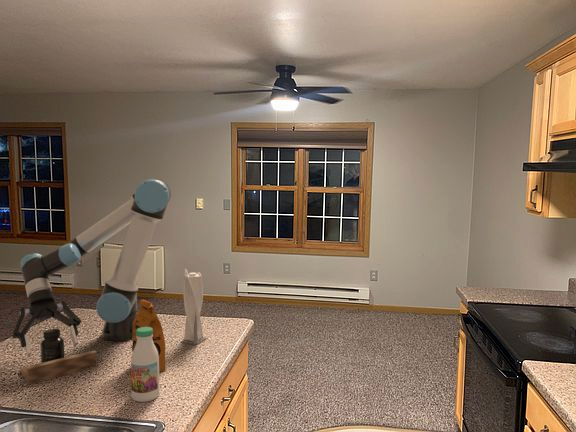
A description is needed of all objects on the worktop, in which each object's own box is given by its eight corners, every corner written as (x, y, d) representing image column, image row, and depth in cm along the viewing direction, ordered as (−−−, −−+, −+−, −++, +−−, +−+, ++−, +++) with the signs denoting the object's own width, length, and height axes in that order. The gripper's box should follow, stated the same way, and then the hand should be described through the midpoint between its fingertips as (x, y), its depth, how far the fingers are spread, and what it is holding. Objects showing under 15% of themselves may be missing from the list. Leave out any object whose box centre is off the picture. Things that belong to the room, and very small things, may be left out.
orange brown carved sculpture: (138, 378, 140) (136, 309, 138) (130, 363, 150) (129, 300, 148) (169, 371, 145) (168, 305, 143) (159, 357, 155) (159, 296, 153)
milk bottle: (135, 390, 132) (134, 324, 130) (161, 389, 132) (160, 324, 131) (128, 403, 124) (126, 333, 122) (156, 402, 125) (155, 333, 123)
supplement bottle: (69, 364, 147) (68, 328, 146) (52, 372, 140) (51, 335, 139) (53, 361, 149) (52, 326, 148) (36, 369, 142) (34, 333, 141)
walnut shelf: (85, 355, 157) (84, 341, 156) (96, 366, 148) (96, 351, 147) (20, 371, 144) (19, 356, 143) (28, 384, 135) (28, 368, 134)
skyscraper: (178, 341, 171) (177, 270, 168) (190, 335, 178) (189, 266, 176) (196, 345, 167) (196, 272, 165) (208, 338, 175) (207, 268, 172)
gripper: (76, 294, 163) (91, 345, 153) (-4, 306, 146) (6, 365, 136) (80, 282, 158) (95, 335, 148) (-2, 294, 142) (9, 354, 132)
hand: (53, 349), depth 142 cm, fingers open, 13 cm apart
